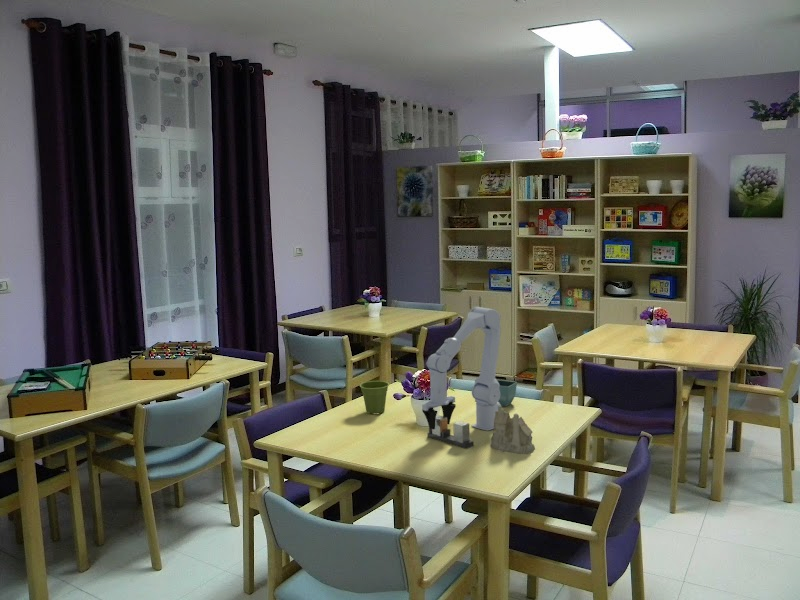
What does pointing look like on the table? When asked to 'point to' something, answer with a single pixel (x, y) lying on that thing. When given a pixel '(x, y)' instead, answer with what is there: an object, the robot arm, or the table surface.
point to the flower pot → (506, 392)
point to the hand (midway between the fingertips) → (439, 426)
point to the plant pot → (374, 395)
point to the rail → (449, 439)
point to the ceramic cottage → (511, 434)
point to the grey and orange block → (440, 425)
